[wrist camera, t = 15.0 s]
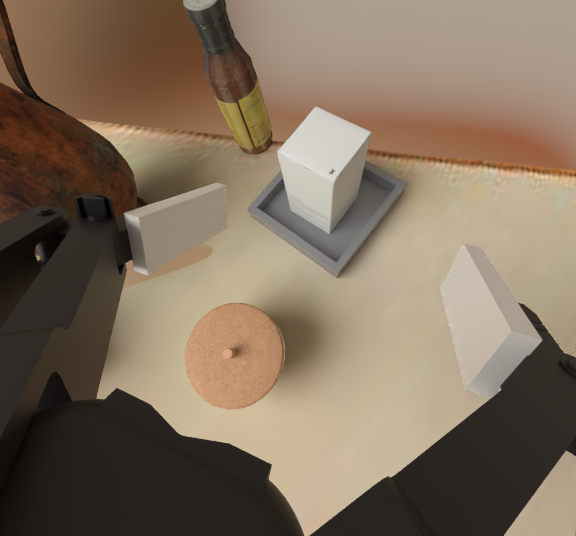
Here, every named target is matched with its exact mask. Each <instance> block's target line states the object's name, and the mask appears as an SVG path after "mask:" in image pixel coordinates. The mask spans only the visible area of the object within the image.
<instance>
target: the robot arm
mask: <svg viewBox="0 0 576 536" xmlns="http://www.w3.org/2000/svg"><path fill="white" fill-rule="evenodd" d="M73 202H74V205H75V209H76V212H77V216H78V220H77V221H73V220H67V217H66V213H65V210H64V209H62V208H58V207H50V206H40V207H37V208H34V209H30V210H27V211H25V212H23V213H21V214H19V215H17V216H15V217H13V218H11V219H9V220H7V221H5V222H2V223H0V536H304V534H303V531H302V528H301V526H300V524H299V521H298V519H297V517H296V515H295V513H294V511H293V509H292V508H291V506H290V505H289V503H288V501H287V500H286V498H285V497H284V496H283V495H282V493H281V492H280V491H279V489H278V488H277V487H276V486H275V485H274V484H273V483H272V482H271V481H270V480H269V475H270V471H271V466H272V465H271V464H269V463H267V462H265V461H263V460H261V459H259V458H257V457H255V456H253V455H251V454H249V453H247V452H245V451H243V450H241V449H239V448H237V447H235V446H233V445H231V444H228V443H222V442H216V441H210V440H204V439H198V438H192V437H186V436H182V435H180V434H178V433H177V432H176V431H175V430H174V429H173V428H172V427H171V426H170V425H169V424H168V422H167V421H166V420H165V419H164V418H163V417H162V416H161V415H160V414H159V413H158V412H157V411H156V410H155V409H154V408H153V407H152V406H151V405H150V404H148V403H146V402H144V401H142V400H140V399H138V398H136V397H134V396H132V395H130V394H128V393H126V392H124V391H122V390H120V389H118V388H116V389H115V390H114V391H113V392H112V393H111V394H110V395H109V396H108V397H107V398H106V399H96V398H97V392H98V388H99V384H100V380H101V375H102V371H103V367H104V363H105V359H106V355H107V351H108V346H109V342H110V338H111V334H112V330H113V326H114V321H115V317H116V313H117V309H118V305H119V301H120V296H121V292H122V288H123V284H124V280H125V276H126V271H127V269H126V264H125V263H126V262H128V261H130V260H132V261H133V266H134V270H135V271H136V272H139V273H142V274H145V275H147V276H149V275H150V274H152V273H154V272H155V271H157V270H158V269H160V268H162V267H163V266H165V265H167V264H168V263H170V262H172V261H173V260H175V259H176V258H178V257H180V256H181V255H183V254H185V253H186V252H188V251H190V250H191V249H193V248H194V247H196V246H198V245H199V244H201V243H203V242H204V241H206V240H208V239H209V238H211V237H212V236H214V235H216V234H217V233H219V232H221V231H222V230H224V229H226V228H227V185H224V184H220V183H214V184H211V185H208V186H205V187H201V188H198V189H195V190H192V191H189V192H186V193H183V194H180V195H177V196H174V197H171V198H168V199H165V200H162V201H159V202H156V203H153V204H150V205H147V206H143V207H140V208H137V209H134V210H131V211H128V212H125V213H123V214H124V215H123V216H120V217H117V218H116V217H115V212H114V207H113V202H112V198H111V197H110V196H107V195H103V194H86V195H80V196H77V197H75V198H73ZM35 248H37V251H38V253H39V256H40V258H41V259H40V260H39V261H37V258H36V256H35ZM440 293H441V297H442V301H443V305H444V309H445V312H446V316H447V320H448V324H449V328H450V332H451V336H452V340H453V344H454V348H455V352H456V356H457V360H458V364H459V368H460V372H461V376H462V380H463V384H464V388H465V390H466V391H469V392H471V393H474V394H477V395H480V396H482V397H485V398H488V399H490V400H489V401H487V402H486V403H485V404H484V405H482V406H481V407H480V408H479V409H477V410H476V411H475V412H474V413H472V414H471V415H470V416H469V417H467V418H466V419H465V420H464V421H462V422H461V423H460V424H459V425H457V426H456V427H455V428H454V429H452V430H451V431H450V432H449V433H447V434H446V435H445V436H443V437H442V438H441V439H440V440H438V441H437V442H436V443H435V444H433V445H432V446H431V447H430V448H428V449H427V450H426V451H425V452H423V453H422V454H421V455H420V456H418V457H417V458H416V459H415V460H413V461H412V462H411V463H410V464H408V465H407V466H406V467H405V468H403V469H402V470H401V471H400V472H398V473H397V474H396V475H394V476H393V477H391V478H390V477H389V476H388V477H386V478H384V479H382V480H381V481H379V482H378V483H377V484H375V485H374V486H373V487H371V488H370V489H369V490H368V491H366V492H365V493H364V494H362V495H361V496H360V497H359V498H357V499H356V500H355V501H353V502H352V503H351V504H350V505H348V506H347V507H346V508H344V509H343V510H342V511H341V512H339V513H338V514H337V515H336V516H334V517H333V518H332V519H330V520H329V521H328V522H327V523H325V524H324V525H323V526H321V527H320V528H319V529H318V530H316V531H315V532H314V533H313V534H311V535H310V536H504V534H505V533H506V531H507V530H508V529H509V527H510V526H511V525H512V523H513V522H514V521H515V519H516V518H517V516H518V515H519V514H520V512H521V511H522V510H523V508H524V507H525V506H526V504H527V503H528V501H529V500H530V499H531V497H532V496H533V495H534V493H535V492H536V491H537V489H538V488H539V486H540V485H541V484H542V482H543V481H544V480H545V478H546V477H547V475H548V474H549V473H550V471H551V470H552V469H553V467H554V466H555V465H556V463H557V462H558V460H559V459H560V458H561V456H562V455H563V454H564V452H565V451H566V450H567V451H568V452H570V453H572V454H573V455H575V456H576V358H575V357H573V356H571V355H568V354H565V353H563V351H562V350H561V349H560V347H559V346H558V344H557V343H556V342H555V340H554V339H553V337H552V336H551V335H550V333H548V331H547V329H546V328H545V326H544V325H542V322H541V321H540V319H539V318H538V317H537V315H536V314H535V313H534V312H532V311H531V310H530V309H529V308H528V307H526V306H525V305H524V304H520V303H518V302H517V301H516V299H515V298H514V296H513V295H512V293H511V292H510V290H509V289H508V287H507V286H506V284H505V283H504V281H503V280H502V278H501V277H500V275H499V274H498V272H497V271H496V270H495V268H494V267H493V265H492V264H491V262H490V261H489V259H488V258H487V256H486V255H485V253H484V252H483V250H482V249H481V247H477V246H473V245H468V244H463V245H462V247H461V249H460V251H459V253H458V255H457V257H456V259H455V261H454V262H453V264H452V266H451V268H450V270H449V272H448V274H447V276H446V278H445V279H444V281H443V283H442V285H441V287H440ZM500 388H501V391H500V392H499V393H497V394H496V395H495V393H496V392H497V391H498V390H499V389H500ZM494 395H495V396H494ZM493 396H494V397H493Z"/></svg>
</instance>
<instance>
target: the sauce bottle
mask: <svg viewBox="0 0 576 536" xmlns="http://www.w3.org/2000/svg"><path fill="white" fill-rule="evenodd" d="M183 2H184V7H185V9H186V12H187V14H188V17H189V18H190V20H191V21H192V22H193V23H194V26H195V28H196V30H197V33H198V35H199V37H200V40H201V44H202V46H203V48H204V56H203V69H204V72H205V74H206V77H207V79H208V82H209V83H210V85H211V88H212V90H213V94H214V96H215V98H216V100H217V102H218V104H219V106H220V108H221V111H222V113H223V115H224V117H225V119H226V121H227V123H228V126H229V128H230V130H231V132H232V134H233V136H234V139H235V141H236V143H237V144H238V145H239V146H240V148H241V149H242V150H243V151H244V152H246V153H260V152H262V151H264V150H265V149H267V148H268V146H269V145H270V143H271V141H272V131H271V125H270V121H269V118H268V114H267V111H266V107H265V104H264V100H263V96H262V93H261V89H260V86H259V82H258V79H257V75H256V72H255V70H254V68H253V65H252V61H251V58H250V56H249V55H248V54H247V53H246V52H245V50H244V49H243V48H242V46H241V45H240V43H239V42H238V41H237V39H236V38H235V36H234V32H233V30H232V28H231V25H230V22H229V19H228V15H227V12H226V3H225V0H184V1H183Z"/></svg>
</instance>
